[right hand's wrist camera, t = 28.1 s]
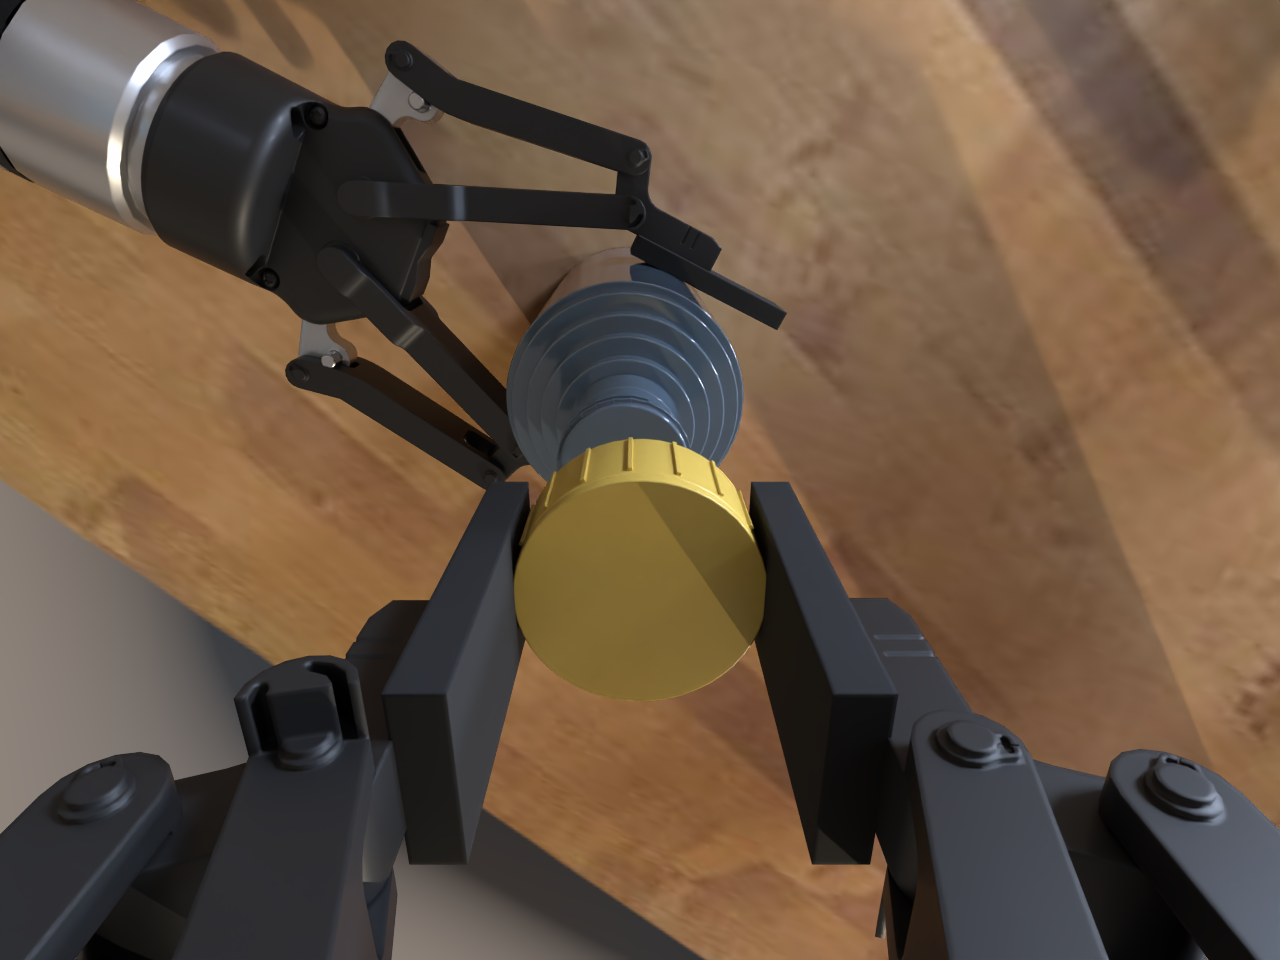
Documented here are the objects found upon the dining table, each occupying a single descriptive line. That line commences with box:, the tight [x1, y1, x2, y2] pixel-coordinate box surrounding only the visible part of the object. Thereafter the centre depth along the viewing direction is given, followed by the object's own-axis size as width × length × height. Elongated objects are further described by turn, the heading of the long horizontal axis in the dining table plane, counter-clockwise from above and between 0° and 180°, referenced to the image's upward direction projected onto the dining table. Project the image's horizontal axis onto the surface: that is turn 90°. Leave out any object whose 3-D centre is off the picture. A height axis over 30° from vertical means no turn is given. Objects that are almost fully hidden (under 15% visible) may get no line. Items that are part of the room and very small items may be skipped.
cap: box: [513, 437, 766, 701], centre depth 14 cm, size 5×5×2 cm
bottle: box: [506, 248, 743, 482], centre depth 27 cm, size 8×8×19 cm
